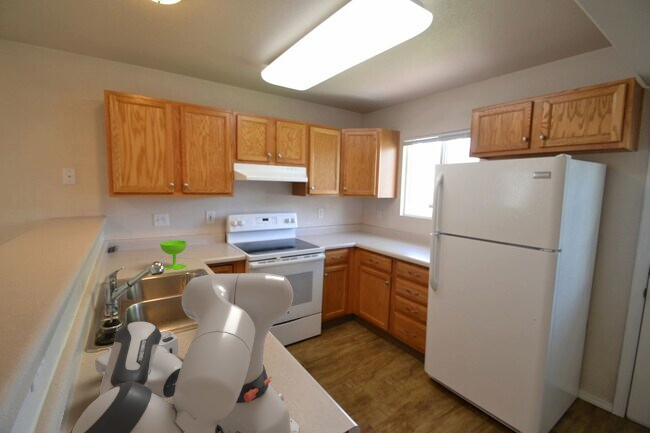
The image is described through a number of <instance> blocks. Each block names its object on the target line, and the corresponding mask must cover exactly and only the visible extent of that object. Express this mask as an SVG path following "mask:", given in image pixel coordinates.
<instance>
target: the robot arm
mask: <svg viewBox="0 0 650 433" xmlns="http://www.w3.org/2000/svg"><path fill="white" fill-rule="evenodd" d="M293 300H294V290H293V287H292V283H291V282H290V281H289V279H288V278H287V277H286V276H285V275H279V274H276V273H269V272H244V273H243V272H241V273H211V274H205V275H199V276H195V277H192V278H191V279H190V280H189V281H188V282H187V284H186V285H185V286H184V289H183V291H182V294H181V307H182V309H183V312H184V313H185V315H186V316H187V317H188V318H189V319H191V320H193V321H195V322H196V323H197V328H196V331H195V334H194V335H193V338H192V340H191V342H190V345H189V347H188V348H187V351H186V353H185V355H184V358H183V363H182V362H181V361H180V360H179V359H178V358H177V356H178V357H179V338H178V336H176V334H175V333H173V332H172V331H171V330H164V331H162V332H161V331H160V329H159V328H158V327H157V325H156V324H154V323H153V322H148V321H141V320H139V321H138V320H136V321H132V322H129V323H127V324H125V325H122V326H121V327H122V328H121V327H120V328H121V329H120V328H118V329H117V331H116V333H115V335H114V340H113V345H111V346H109V347H107V353H104V354H101V355H99V356H97V358H95V363H94V365H95V371H96V372H98V373H99V375H101V376H102V380H101V383H100V386H99V390H98V393H99V395H98V396H97V398H96V399H94V400H93V401H92V402H91V403H90V404H89V405H88V406H87V407H86V408H85V410H84V411H83V412H82V413H81V415H80V417H79V418H78V419H77V421H76V423H75V425H74V426H73V428H72V429H71V431H70V432H69V433H301V432H300V429H301V428H300V424H299V423H297V422H296V421H295V419H293V418H292V417H291V416H290V412H289V409H288V406H287V404H286V403H285V402H284V400H285V399H284V395H283V394H282V393H281V392H279V393H277V392H276V390H275V389H274V388H273V387H272V385H271V384H270V383H271V382H272V376H269V377H268V374H267V369H266V368H265V364H264V351H265V350H264V348H265V342H266V341H265V340H266V337H267V335H268V333H269V332H270V330H271V328H272V326H273V325H275V323H276V322H277V321H279V319H281V318H282V317H284V316H285V315H286V314H287V313H288V312H289V310H290V308H291V307H292V306H293V305H292V304H293ZM169 398H171V400H169V401H167V400H166V399H169Z"/></svg>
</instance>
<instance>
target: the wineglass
mask: <svg viewBox="0 0 650 433" xmlns="http://www.w3.org/2000/svg"><path fill="white" fill-rule="evenodd" d="M187 242H188V241H186V240H182V239H181V240H168V241H167V240H166V241H162V242H160V243H159V246H160V248H161V250H162V252H164V253H165V254H167V255H171V256H172V264H169V265H166V266H163V267H164V270H165V268H167V269H166V270H168V269H169V270H170V269H174V270H179V269H183V268H186V267H188V265H186V264H183V263H177V255H178V254H181V253H182V252H183V251H184V250H185V249H186V248H187Z"/></svg>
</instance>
